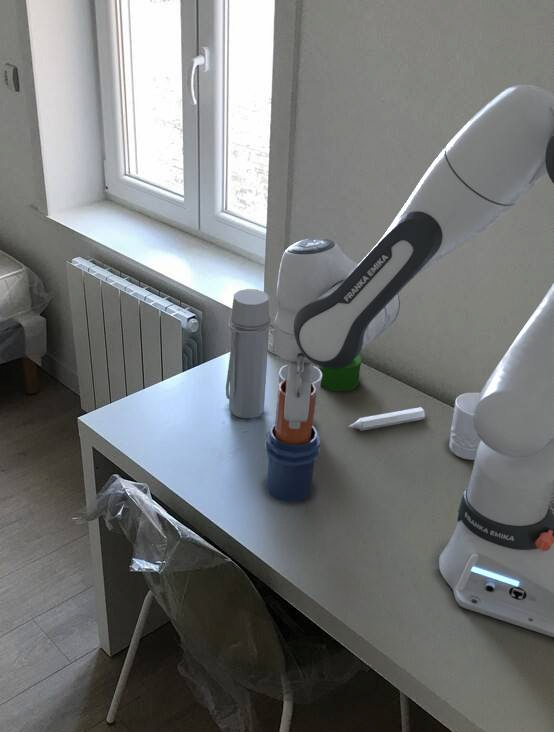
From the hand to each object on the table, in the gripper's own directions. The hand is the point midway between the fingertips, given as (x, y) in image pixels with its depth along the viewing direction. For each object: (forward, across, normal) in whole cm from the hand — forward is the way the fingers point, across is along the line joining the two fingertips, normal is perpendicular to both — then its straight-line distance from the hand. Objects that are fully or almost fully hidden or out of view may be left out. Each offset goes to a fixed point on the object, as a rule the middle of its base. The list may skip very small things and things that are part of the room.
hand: (294, 413), depth 140 cm
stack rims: (+7, 0, 0) cm, 7 cm away
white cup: (+16, +16, -32) cm, 39 cm away
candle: (+16, +38, -9) cm, 42 cm away
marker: (+16, +22, -18) cm, 32 cm away
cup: (+16, +19, -1) cm, 25 cm away
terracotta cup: (+5, 0, 0) cm, 5 cm away
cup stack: (+16, 0, 0) cm, 16 cm away
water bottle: (+16, +23, +10) cm, 30 cm away
